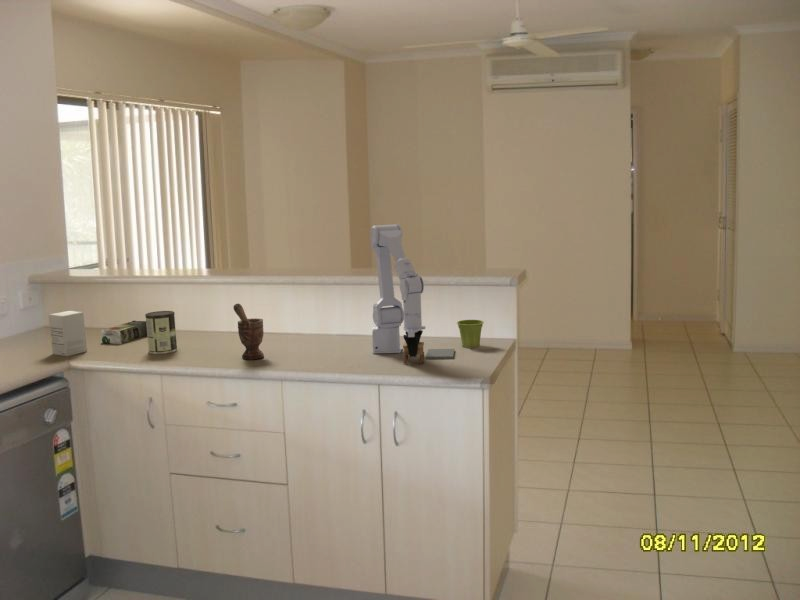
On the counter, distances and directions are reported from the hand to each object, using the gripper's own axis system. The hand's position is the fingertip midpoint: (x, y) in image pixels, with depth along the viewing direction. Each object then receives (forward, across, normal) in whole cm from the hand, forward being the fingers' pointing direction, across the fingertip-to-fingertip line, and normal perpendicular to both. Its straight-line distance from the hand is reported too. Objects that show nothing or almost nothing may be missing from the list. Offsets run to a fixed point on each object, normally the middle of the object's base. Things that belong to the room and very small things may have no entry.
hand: (413, 354), depth 290 cm
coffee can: (+3, +24, +94) cm, 97 cm away
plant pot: (+3, +25, -18) cm, 31 cm away
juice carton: (+3, +48, +118) cm, 127 cm away
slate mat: (+3, +11, -8) cm, 14 cm away
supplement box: (+3, +23, +129) cm, 131 cm away
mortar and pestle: (+3, +9, +57) cm, 58 cm away
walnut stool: (+2, 0, 0) cm, 2 cm away
